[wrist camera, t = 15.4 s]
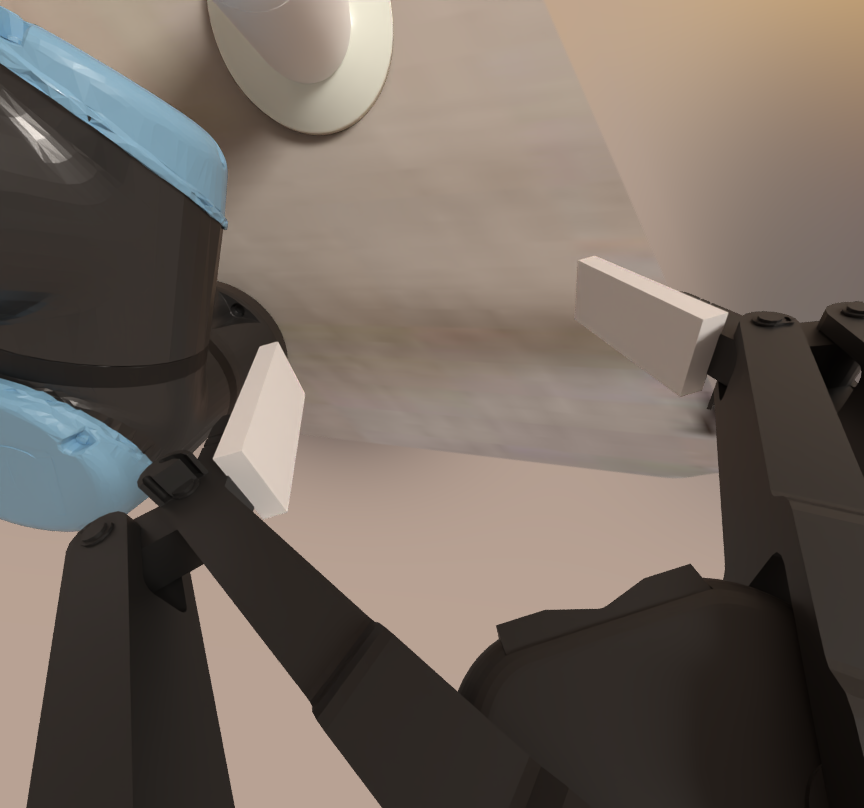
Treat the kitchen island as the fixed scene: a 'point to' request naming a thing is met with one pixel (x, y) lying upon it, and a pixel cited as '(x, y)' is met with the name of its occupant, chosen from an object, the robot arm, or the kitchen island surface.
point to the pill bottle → (294, 34)
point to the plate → (323, 101)
